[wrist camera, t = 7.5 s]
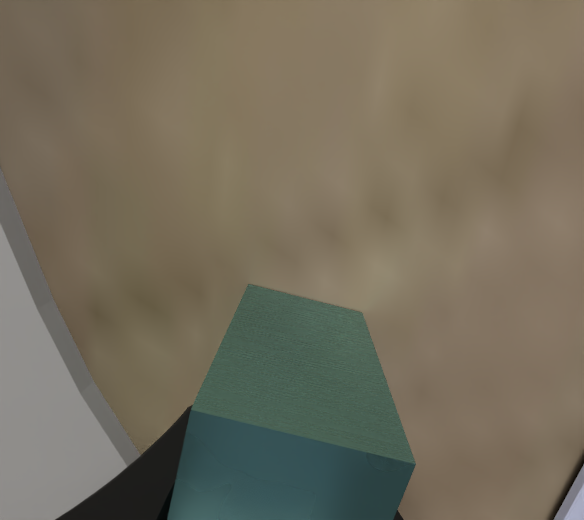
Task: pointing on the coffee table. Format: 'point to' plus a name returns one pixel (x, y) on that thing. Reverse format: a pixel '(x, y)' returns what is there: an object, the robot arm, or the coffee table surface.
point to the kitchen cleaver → (46, 394)
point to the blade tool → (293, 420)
